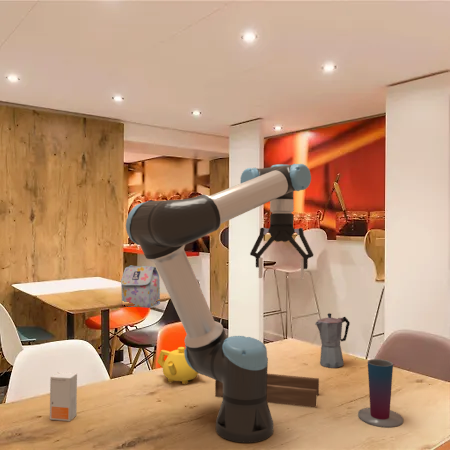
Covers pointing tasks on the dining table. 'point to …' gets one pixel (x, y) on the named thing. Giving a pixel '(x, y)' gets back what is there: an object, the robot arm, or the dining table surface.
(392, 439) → the dining table surface
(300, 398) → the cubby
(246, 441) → the robot arm
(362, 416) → the coaster
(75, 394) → the skincare box
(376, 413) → the cup
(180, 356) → the teapot
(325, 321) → the moka pot
